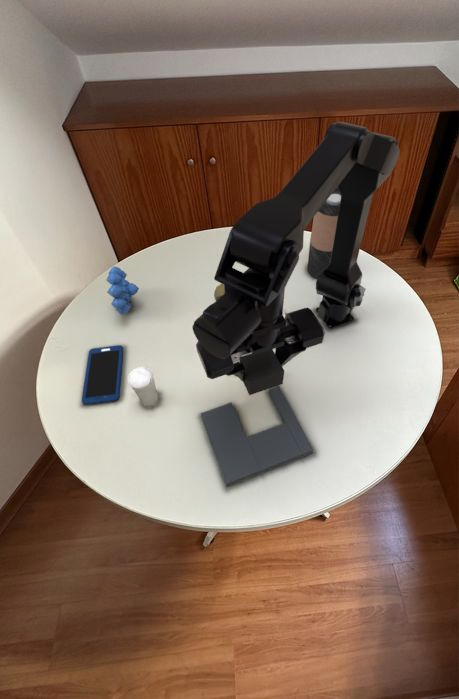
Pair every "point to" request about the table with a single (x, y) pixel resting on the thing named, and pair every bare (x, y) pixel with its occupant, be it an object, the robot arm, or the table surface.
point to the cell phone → (103, 375)
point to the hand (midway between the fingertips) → (259, 373)
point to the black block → (262, 371)
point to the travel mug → (323, 234)
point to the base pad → (254, 441)
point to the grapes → (121, 290)
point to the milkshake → (144, 385)
